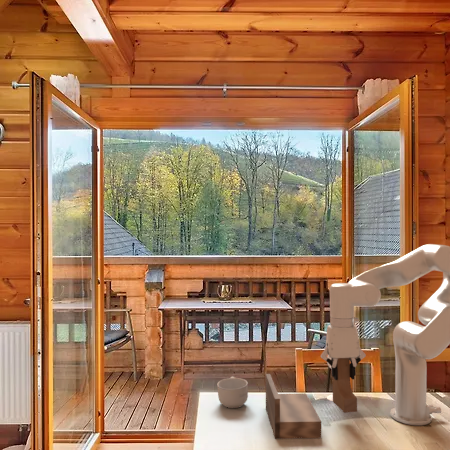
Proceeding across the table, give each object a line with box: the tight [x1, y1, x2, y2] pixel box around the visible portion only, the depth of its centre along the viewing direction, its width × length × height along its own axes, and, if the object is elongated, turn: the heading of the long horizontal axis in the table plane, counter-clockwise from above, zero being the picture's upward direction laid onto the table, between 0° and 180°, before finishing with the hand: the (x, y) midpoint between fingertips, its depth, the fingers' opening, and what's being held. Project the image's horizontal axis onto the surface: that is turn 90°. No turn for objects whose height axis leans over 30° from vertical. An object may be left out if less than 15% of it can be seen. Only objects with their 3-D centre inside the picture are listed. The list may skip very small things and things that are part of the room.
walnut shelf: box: [265, 373, 322, 440], centre depth 149 cm, size 14×22×12 cm, turn 2°
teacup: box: [216, 376, 249, 409], centre depth 164 cm, size 14×11×8 cm
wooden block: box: [331, 358, 358, 414], centre depth 148 cm, size 9×4×18 cm, turn 11°
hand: (343, 377), depth 148 cm, fingers closed on wooden block, 4 cm apart
